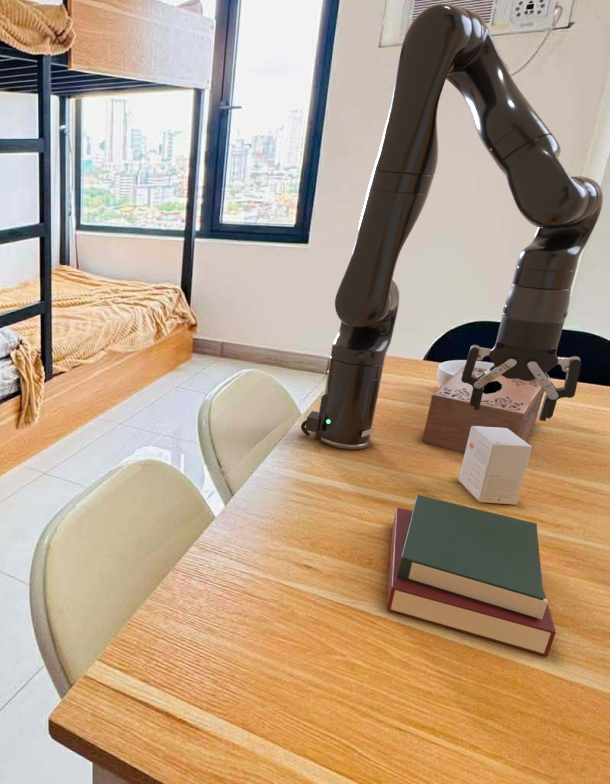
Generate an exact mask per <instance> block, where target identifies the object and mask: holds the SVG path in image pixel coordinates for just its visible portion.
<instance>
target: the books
mask: <svg viewBox="0 0 610 784" xmlns="http://www.w3.org/2000/svg"><path fill="white" fill-rule="evenodd" d="M537 525H538V524H537V523H536V522H532V521H529V520H524V519H519V518H515V517H512V516H508V515H504V514H499V513H495V512H491V511H487V510H484V509H483V510H482V509H478V508H474V507H471V506H466V505H462V504H457V503H453V502H449V501H445V500H441V499H436V498H433V497H429V496H426V495H425V496H424V495H421V494H416V497H415V501H414V505H413V509H412V510H411V509H407V508H402V507H398V506H397V507H396V508H395V512H394V518H393V522H392V530H391V540H390V541H391V543H390V555H389V571H388V583H387V584H388V585H387V598H386V599H387V600H386V611H389V612H392V613H396V614H399V615H403V616H406V617H409V618H413V619H415V620H416V619H417V620H421V621H423V622H427V623H430V624H433V625H437V626H441V627H444V628H447V629H451V630H454V631H458V632H460V633H461V632H462V633H464V634H468V635H472V636H475V637H478V638H482V639H486V640H489V641H493V642H496V643H499V644H503V645H506V646H510V647H513V648H516V649H520V650H523V651H527V652H529V653H532V654H533V653H534V654H537V655H541V656H544V657H549V653H550V650H551V647H552V645H553V642H554V639H555V637H556V634H557V631H556V627H555V624H554V621H553V617H552V613H551V611H550V608H549V607H550V606H549V604H548V603H549V600H548V599H547V596H546V593H545V590H544V587H543V575H542V567H541V564H542V563H541V555H540V546H539V533H538V526H537Z"/></svg>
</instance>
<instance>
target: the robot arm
mask: <svg viewBox="0 0 610 784" xmlns="http://www.w3.org/2000/svg"><path fill="white" fill-rule="evenodd" d="M446 80H447V82H449V83H450V84H451V85H452V86H453V87H454V88H455V89H456V90H457V91H458V93H459V94H460V95H461V96H462V97H463V99H464V101H465V102H466V104H467V106H468V108H469V110H470V112H471V117H472V119H473V122H474V125H475V128H476V129H475V130H476V132H477V135H478V137H479V139H480V141H481V143H482V145H483V146H484V149H486V151H487V153H488V154H489V155H490V157H491V158H492V159H493V161H494V163H495V165H497V167H498V168H499V170H500V171H501V172H502V173H503V174H504V176H505V178H506V181H507V185H508V188H509V191H510V193H511V197H512V198H513V201H514V203H515V205H516V207H517V209H518V211H519V213H520V214H521V216H522V217H523V218H524V219H525V220H526V221H527V222H528V223H530V224H531V225H532V226H534V227H536V228H537V229H536V232H535V235H534V237H533V239H532V241H531V243H530V244H528V245H527V246H525V247H524V248H523V249H522V250H521V252H520V253H519V256H518V258H517V261H516V265H515V269H514V274H513V278H512V283H511V285H510V286H511V287H510V288H509V291H508V293H507V296H506V300H505V302H504V306H503V309H502V316H501V320H500V324H499V327H498V332H497V336H496V340H495V344H494V346H493V347H492V348H487V347H481V346H480V345H478V344H472V345H471V346H470V349H469V351H468V354H467V358H466V360H467V361H466V364H465V368H464V371H463V374H462V378H461V381H462V382H463V383H468V384H470V385H471V386H472V387H473V391H472V395H471V400H470V405H471V406H474V410H478V411H479V407H480V403H481V399H482V394H483V390H484V385H486V384H487V383H489V382H490V381H493V380H494V379H496V378H497V377H498V376H500V375H502V376H504V377H505V378H508V379H521V380H523V381H530V380H535V379H536V380H537V381H538V383H539V384H540V386H541V387H542V388H543V390H544V394H545V395H544V396H543V397H544V398H543V400H542V405H541V408H540V412H539V416H538V419H539V421H541V422H546V420H547V419H551V418H552V417H553V415H554V413H555V408H556V405H557V402H558V400H560V399H563V398H567V399H572V398H574V397H575V396H576V393H577V392H576V390H577V386H578V381H579V377H580V372H581V366H582V362H581V358H580V356H577V355H572V356H570V357H566V356H558V355H557V351H558V347H559V343H560V340H561V335H562V332H563V328H564V325H565V321H566V319H567V317H568V313H569V312H568V309H569V306H570V303H571V291H572V287H573V283H574V280H575V276H576V272H577V268H578V265H579V264H578V263H579V259H580V256H581V254H582V252H583V250H584V249H585V247H586V245H587V243H588V241H589V239H590V237H591V235H592V233H593V231H594V229H595V227H596V225H597V223H598V221H599V217H600V215H601V212H602V208H603V204H604V203H603V202H604V194H603V190H602V187H601V186H600V184H599V183H598V182H597V181H596V180H594V179H593V178H590V177H588V176H580V175H578V176H577V175H576V176H575V175H573V176H571V175H570V174H569V173H568V172H567V170H566V169H565V167H564V166H563V164H562V162H561V160H560V158H559V157H560V155H561V150H562V149H561V145H560V143H559V141H558V140H557V138H556V137H555V136H554V134H553V132H551V130H550V129H549V127H548V126H547V125H546V123H545V122H544V121H543V119H542V118H541V117H540V115H539V114H538V113H537V112H536V110H535V109H534V107H533V106H532V105H531V103H530V102H529V100H528V99H527V98H526V97H525V95H524V94H523V92H521V90H520V88H519V87H518V85H517V84H516V83H515V81H514V79H513V78H512V76H511V75H510V73H509V71H508V69H507V67H506V65H505V63H504V61H503V59H502V57H501V55H500V53H499V51H498V49H497V46H496V43H495V41H494V39H493V37H492V34H491V32H490V30H489V27H488V25H487V23H486V21H485V20H484V18H483V17H482V15H480V14H479V13H478V12H477V11H474V10H471V9H469V8H464V7H461V6H457V5H453V4H449V3H437V4H434V5H430V6H429V7H427V8H425V9H424V10H422V11H421V12H420V13H419V14H418V15H417V16H416V17H415V18H414V19H413V21H412V22H411V24H410V25H409V27H408V29H407V31H406V33H405V35H404V38H403V41H402V43H401V47H400V52H399V58H398V64H397V70H396V76H395V82H394V86H393V94H392V99H391V102H390V103H391V104H390V109H389V111H388V115H387V119H386V122H385V126H384V130H383V134H382V138H381V142H380V146H379V149H378V153H377V157H376V160H375V162H374V166H373V170H372V172H371V177H370V180H369V184H368V188H367V191H366V196H365V200H364V204H363V207H362V208H363V209H362V212H361V216H360V220H359V224H358V229H357V234H356V239H355V243H354V246H353V250H352V253H351V256H350V259H349V261H348V264H347V266H346V270H345V272H344V275H343V277H342V279H341V282H340V283H339V286H338V289H337V292H336V293H335V297H334V309H335V312H336V313H335V314H336V316H337V317H338V319H339V320H340V327H339V330H338V331H337V334H336V336H335V338H334V341H333V342H332V345H331V349H330V358H329V364H328V369H327V376H326V383H325V389H324V392H323V394H322V395H321V398H320V404H319V411H314V410H312V411H311V412H310V413H309V414H308V415H307V417H306V420H304V421H302V423H300V424H301V425H300V430H301V431H302V433H303V434H304V435H305V436H306V437H309V436H311V433H315V436H314V440H315V441H318V442H321V443H323V444H325V445H327V446H330V447H332V448H337V449H342V450H351V451H353V450H362V449H366V448H368V447H369V446H370V441H371V435H372V434H374V430H375V427H373V422H374V417H375V412H376V406H377V402H378V397H379V391H380V386H381V380H382V376H383V370H384V365H385V359H386V355H387V352H388V349H389V347H390V345H391V342H392V339H393V334H394V331H395V330H394V329H395V325H396V320H397V316H398V310H399V305H400V290H399V287H398V285H397V283H396V282H395V281H394V279H393V278H394V274H395V270H396V266H397V262H398V259H399V257H400V254H401V251H402V249H403V248H404V245H405V243H406V241H407V239H408V238H409V236H410V234H411V233H412V230H413V229H414V227H415V225H416V224H417V222H418V219H419V217H420V215H421V213H422V211H423V209H424V207H425V204H426V202H427V199H428V197H429V193H430V190H431V187H432V184H433V180H434V177H435V174H436V170H437V166H438V161H439V136H438V109H439V104H440V100H441V96H442V92H443V88H444V85H445V83H446ZM485 357H489V359H490V360H491V363H494V365H493V366H492V367H490V368H489V369H487V370H486V371H485V372H484V373H483V374H481V375H480V376H479V377H476V376H474V375H472V373H473V370H474V366H475V363H476V361H481V362H482V361H483V360H484V358H485ZM557 365H560V367H561V370H562V372H564V373H566V374H565V379H564V386H562V387H556V386H555V384H554V383H553V381H552V379H551V377H550V376H549V375H548V373H547V372H549V371H550V370H551V369H553V368H554V367H556V366H557ZM310 432H311V433H310Z"/></svg>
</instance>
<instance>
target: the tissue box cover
mask: <svg viewBox="0 0 610 784" xmlns="http://www.w3.org/2000/svg"><path fill="white" fill-rule="evenodd" d="M464 368H465V366H464V367H463V368H462V369H461V370H460V371H458V372H457V373H456V374H455V375H454V376H453V377H452V378H451V379H449V380H448V381H447V382H446V383H445V384H444V385H443V386H442V387H441V386H440V387H439V388H438V389H437V390H436V391H434V393H432V395H431V399H430V404H429V408H428V413H427V417H426V421H425V426H424V429H423V434H422V439H421V443H426V444H428V445H429V444H430V445H433V446H437V447H440V448H444V449H449V450H452V451H457V452H460V453H464V454H465V450H466V446H467V442H468V438H469V434H470V429H471V426H481V427H498V428H508V429H509V430H510V431H512V432H513V433H514V434H516V435H517V436H518V437H520V438H521V439H522V440H524V441H525V442H526V439H527V438H528V436H529V435H530V433H531V431H532V429H533V428H534V426H535V424H536V421H537V418H538V414H539V411H540V409H541V408H540V407H541V403H542V402H543V397H544V394H545V391H544V390H543V388H542V387H541V386H540V384H539V383H538V381H537V380H536V379H535V380H530V381H523V380H521V379H508V378H505V377H504V376H502V375H500V376H498V377H497V378H496V379H494V380H493V381H490V382H489V383H487V384H486V385H484V390H483V394H482V399H481V403H480V407H479V411H478V410H474V406H471V405H470V400H471V395H472V391H473V387H472V386H471V385H470V384H468V383H463V382H462V381H461V378H462V374H463V371H464ZM486 370H487V369H483V368H477V367H474V370H473V373H472V375H474V376H476V377H479V376H480V375H481V374H483V373H484V372H485V371H486Z"/></svg>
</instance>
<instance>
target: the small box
mask: <svg viewBox="0 0 610 784" xmlns="http://www.w3.org/2000/svg"><path fill="white" fill-rule="evenodd" d="M532 450H533V446H532V445H530V444H529V443H528V442H526V440H525V441H524V440H522V439H521V438H520V437H518V436H517V435H516V434H514V433H513V432H512V431H510V430H509V429H508V428H498V427H481V426H471V429H470V434H469V438H468V442H467V446H466V450H465V453H464V455H463V459H462V462H461V468H460V472H459V476H458V481H459V483H460V484H462V485H463V487H465V488H466V490H467V491H468V492H469V493H470V494H471V495H472V496H473V497H474V498H475V499H476V500H477V501H478V502H479V503H485V504H487V503H488V504H500V505H501V504H502V505H518V500H519V498H520V494H521V490H522V487H523V483H524V479H525V476H526V473H527V468H528V466H529V465H528V464H529V461H530V457H531V455H532V454H531V453H532Z"/></svg>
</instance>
